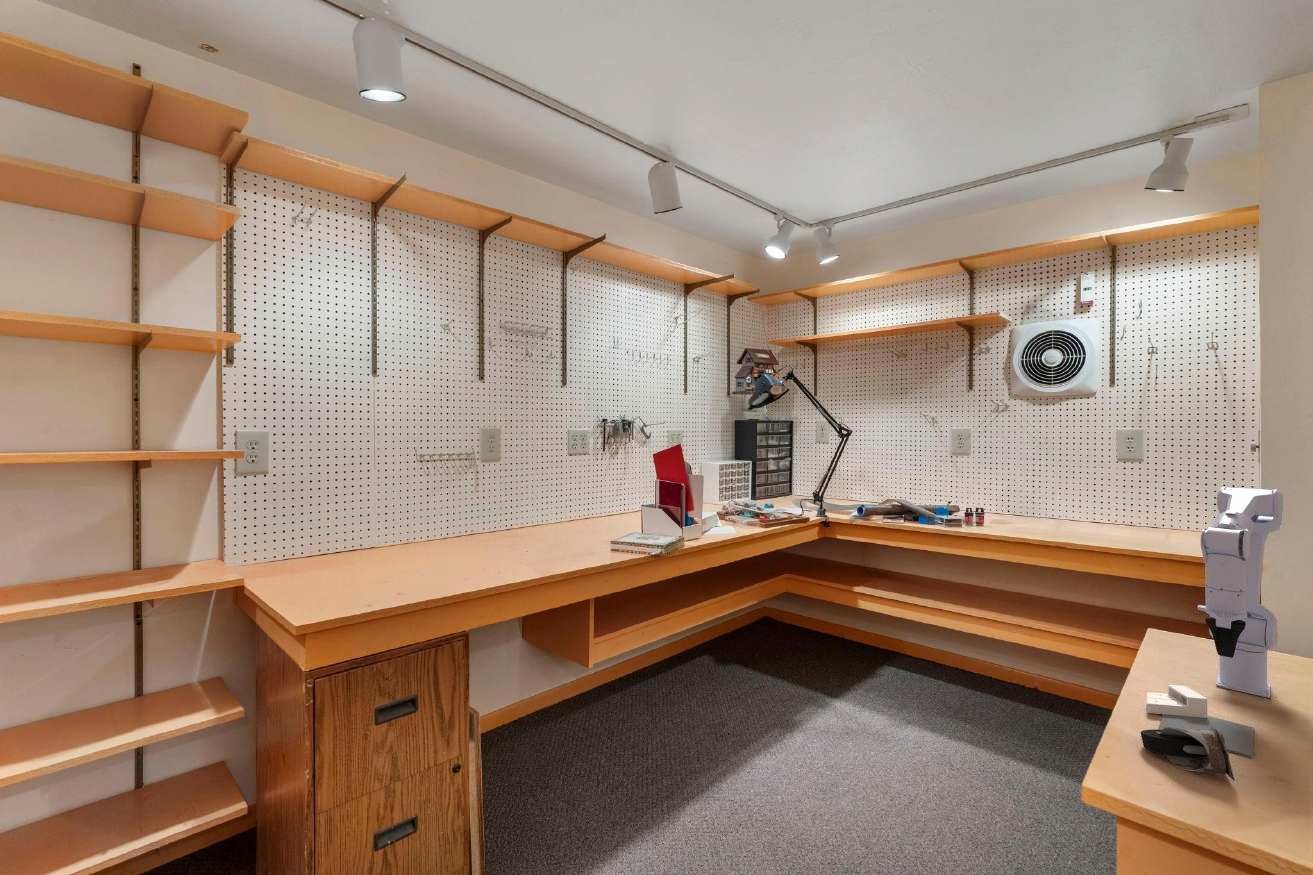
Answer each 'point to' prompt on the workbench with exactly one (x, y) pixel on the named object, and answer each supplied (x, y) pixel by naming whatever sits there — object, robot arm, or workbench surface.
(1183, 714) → the white angled block
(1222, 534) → the robot arm
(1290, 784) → the workbench surface
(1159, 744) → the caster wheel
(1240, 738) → the rubber mat
